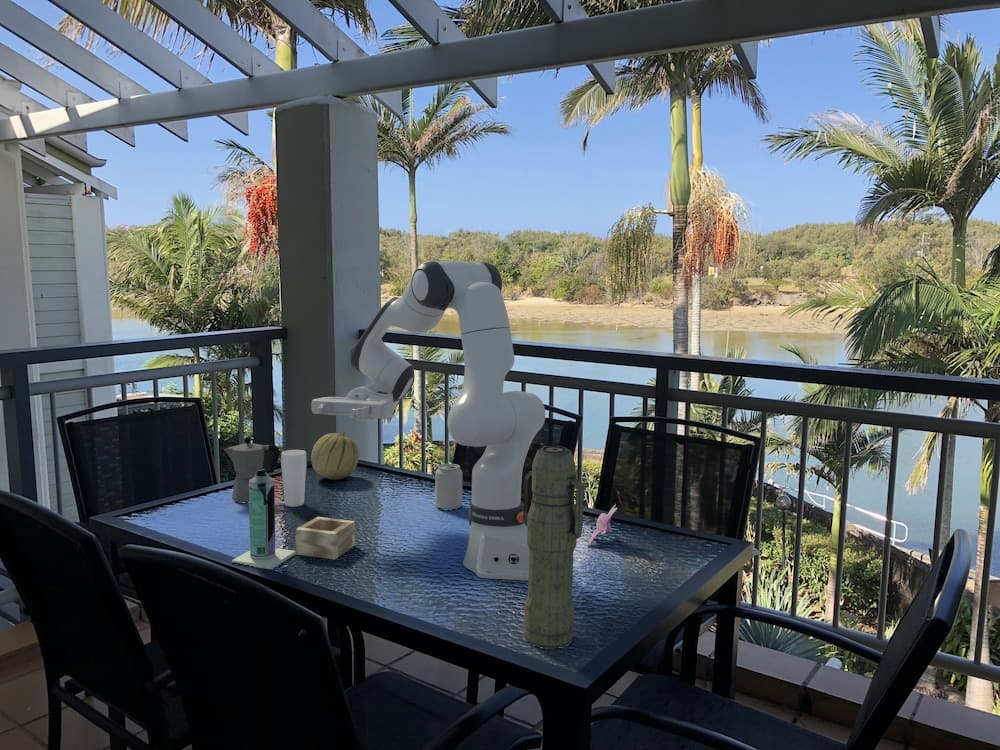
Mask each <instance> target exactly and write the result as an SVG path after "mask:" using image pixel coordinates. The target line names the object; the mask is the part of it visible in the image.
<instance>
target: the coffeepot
mask: <svg viewBox="0 0 1000 750" xmlns="http://www.w3.org/2000/svg"><path fill="white" fill-rule="evenodd" d="M251 439H252V438H251V437H250V436H247V437H244V440H245V442H244V443H241V444H237V445H233V446H228V447H225V448H224V449H223V451H224V452H225V453H226V454H227V456H228V457H229V458H230V460H231V461H232V464H233V468H234V470H233V471H235V478H234V484H233V488H232V489H233V491H232V496H231V499H232V501H233V500H234V501H235V502H234V501H233V502H234V503H237V502H245V503H244V504H249V503H248V502H249V483H250V482H249V480H250V479H252V478H254V477H255V475H256V474H257V471H258V470H259V469H263V466H264V459H265V453H269V452H273V455H272V459H271V460H272V461H271V463H270V469H267V470H266V469H265V473H266V474H273V473H274V472H275V470H276V466H277V464H278V462H279V461H278V460H279V458H280V455H281V450H280V448H278V447H277V446H276V444H259V443H252V442H251Z"/></svg>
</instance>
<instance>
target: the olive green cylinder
mask: <svg viewBox="0 0 1000 750" xmlns="http://www.w3.org/2000/svg"><path fill="white" fill-rule="evenodd" d="M574 458H575V457H574V455H573V452H572V450H570V449H569V448H567V447H565V446H560V445H547V446H542V447H541V448H538V449H537V451H536V454H535V456H534V459H533V461H532V465H531V467H532V470H531V471H527V473H526V474H525V476H524V477H523V505H524V515H523V522H524V523H525V525H526V526H527V544H528V547H529V580H528V581H527V583H528V587H527V588H528V589H527V594H528V595H527V596H526V598H525V601H524V616H523V617H524V619H523V620H524V622H523V623H524V627H525V628H524V629H525V630H524V631H525V633H524V639H526V640H527V641H528V642H529V643H531V644H532V645H535V646H538V647H543V648H559V647H563V646H566V645H568V644H569V643H570V642H572V643H573V640H572V639H574V638H573V637H574V636H573V631H574V626H575V607H576V606H575V605H576V604H575V601H574V599H573V582H574V581H573V579H574V575H573V573H574V551H575V548H576V547H577V541H578V540H577V539H579V538H581V537H582V534H583V533H582V532H583V525H584V524H583V523H584V501H585V500H584V499H585V498H584V496H585V486H584V484H583V483H582V480H581V479H580V478H577V477H578V476H576V470H577V466H576V462H575V459H574ZM574 494H575V496H574ZM574 497H575V499H574ZM526 640H525V641H526ZM527 641H526V642H527ZM528 642H527V643H528ZM529 643H528V644H529ZM532 645H531V646H532Z"/></svg>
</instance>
